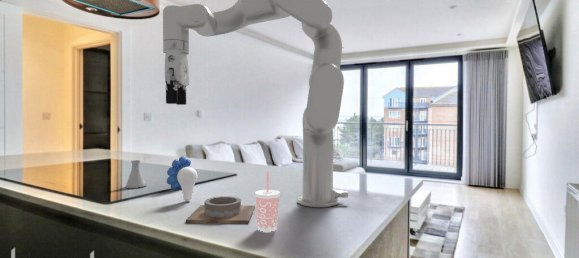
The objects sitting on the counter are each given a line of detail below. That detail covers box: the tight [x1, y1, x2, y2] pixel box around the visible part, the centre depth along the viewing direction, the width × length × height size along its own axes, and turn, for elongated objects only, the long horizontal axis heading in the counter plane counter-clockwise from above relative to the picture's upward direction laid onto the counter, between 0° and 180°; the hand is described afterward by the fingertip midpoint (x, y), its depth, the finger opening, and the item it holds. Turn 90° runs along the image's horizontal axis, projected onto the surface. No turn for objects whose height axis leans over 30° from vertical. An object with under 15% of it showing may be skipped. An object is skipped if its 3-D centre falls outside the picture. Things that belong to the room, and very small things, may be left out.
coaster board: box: [185, 195, 256, 224], centre depth 93 cm, size 16×14×4 cm
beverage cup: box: [254, 171, 281, 233], centre depth 82 cm, size 6×6×14 cm
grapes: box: [166, 156, 193, 191], centre depth 125 cm, size 12×7×12 cm, turn 151°
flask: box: [125, 159, 147, 189], centre depth 128 cm, size 7×7×10 cm
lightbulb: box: [177, 166, 198, 202], centre depth 107 cm, size 6×6×11 cm
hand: (176, 104), depth 105 cm, fingers open, 9 cm apart
